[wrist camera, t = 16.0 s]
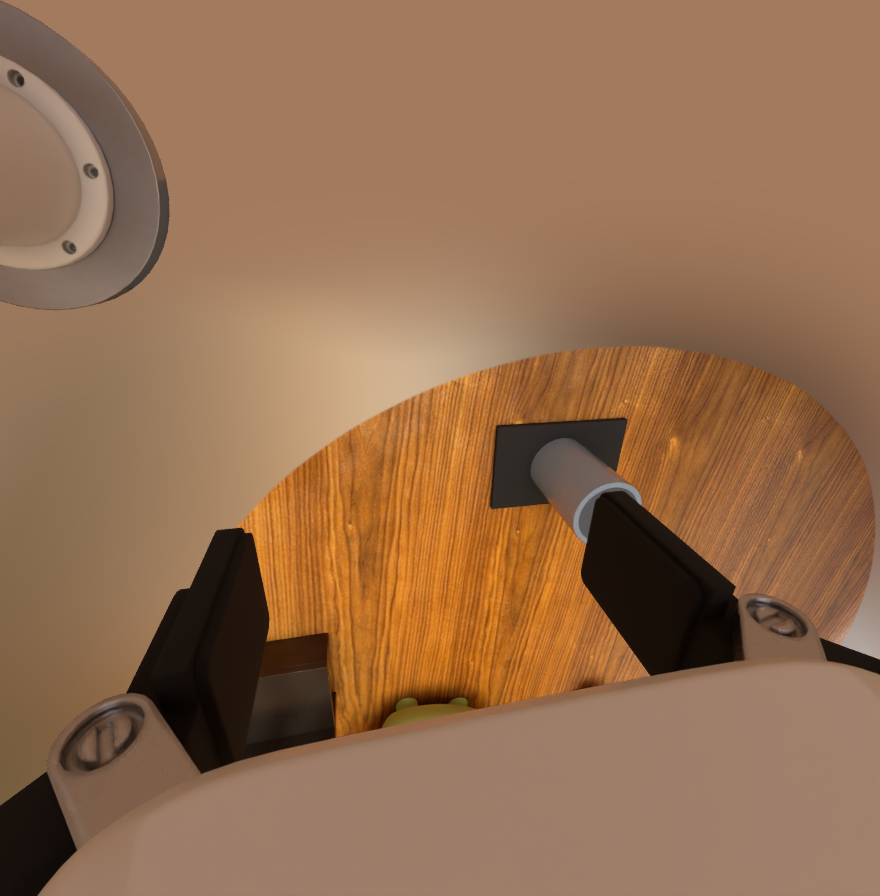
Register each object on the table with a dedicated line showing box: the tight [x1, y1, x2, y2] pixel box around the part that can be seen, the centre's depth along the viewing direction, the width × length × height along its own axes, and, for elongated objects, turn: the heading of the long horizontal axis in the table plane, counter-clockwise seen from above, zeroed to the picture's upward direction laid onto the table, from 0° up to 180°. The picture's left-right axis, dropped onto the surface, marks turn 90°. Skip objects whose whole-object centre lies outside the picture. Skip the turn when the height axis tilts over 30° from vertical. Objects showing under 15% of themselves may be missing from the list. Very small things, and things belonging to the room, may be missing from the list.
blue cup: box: [531, 438, 642, 543], centre depth 43 cm, size 7×7×10 cm
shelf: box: [243, 633, 336, 760], centre depth 49 cm, size 12×12×9 cm
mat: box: [490, 418, 627, 509], centre depth 48 cm, size 15×10×1 cm, turn 89°
